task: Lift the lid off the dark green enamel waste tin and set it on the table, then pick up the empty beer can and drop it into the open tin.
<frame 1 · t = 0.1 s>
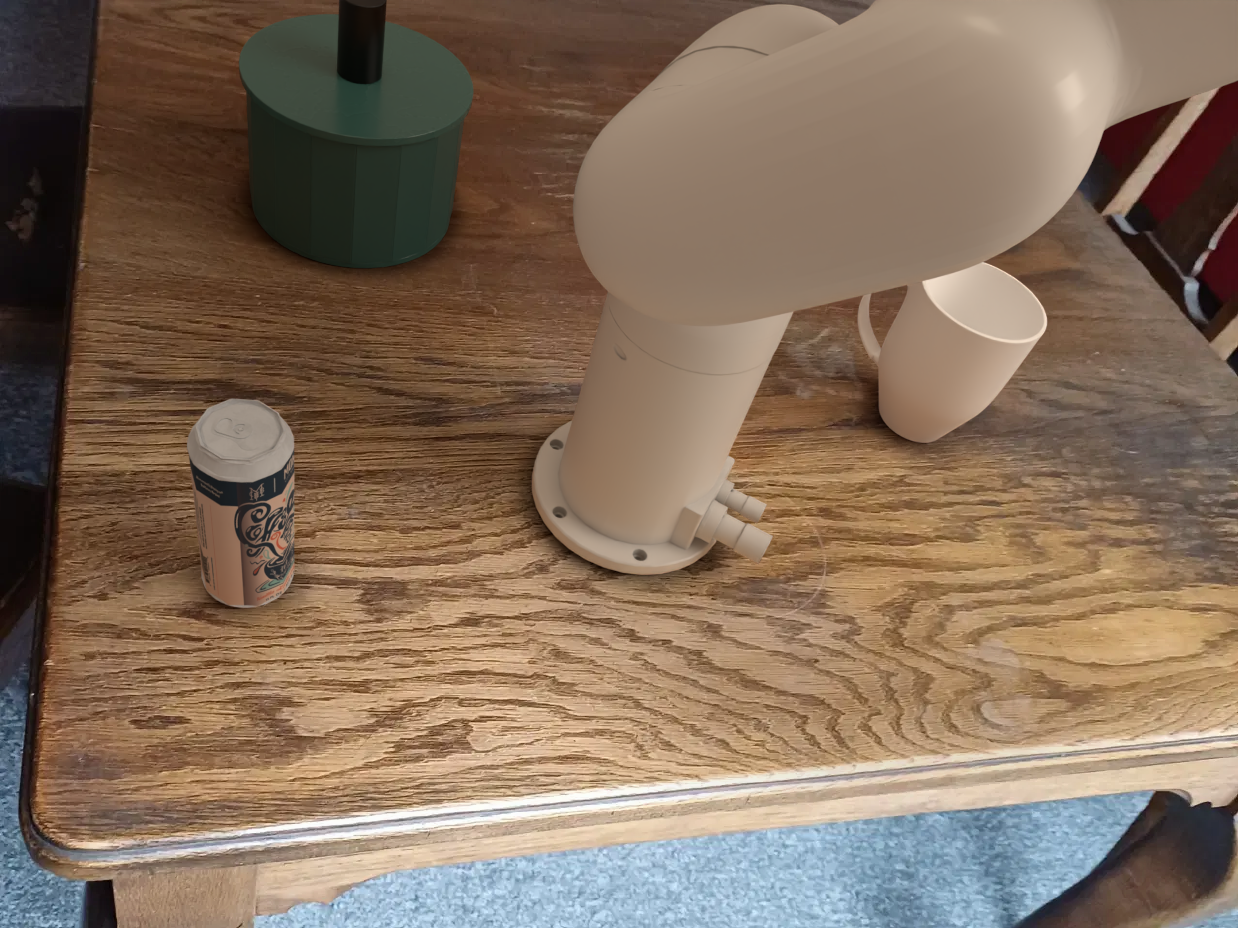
tin: (353, 206, 82), on the table
beer can: (248, 578, 59), on the table
tin lid: (359, 80, 74), point 10 cm above the table, touching tin
mug: (893, 409, 80), on the table
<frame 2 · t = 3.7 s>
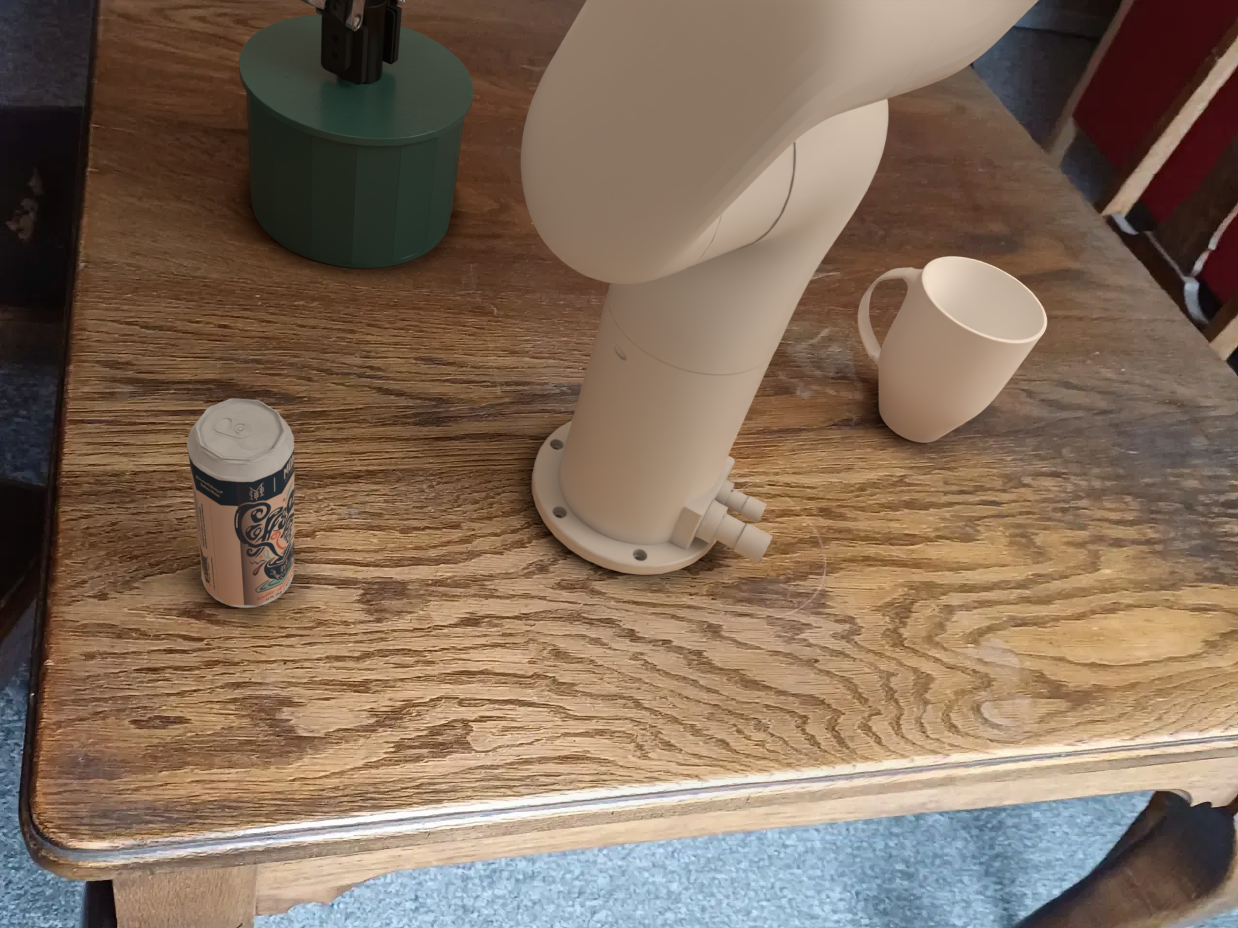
hand: (359, 63, 73), 12 cm above the table, tool pointing down, fingers closed on tin lid, 3 cm apart
tin lid: (359, 80, 74), point 11 cm above the table, touching gripper, tin
everything else where it was.
when the fingers open (2 cm above the table, at t = 12.2 s): tin lid stays where it is, point 1 cm above the table.
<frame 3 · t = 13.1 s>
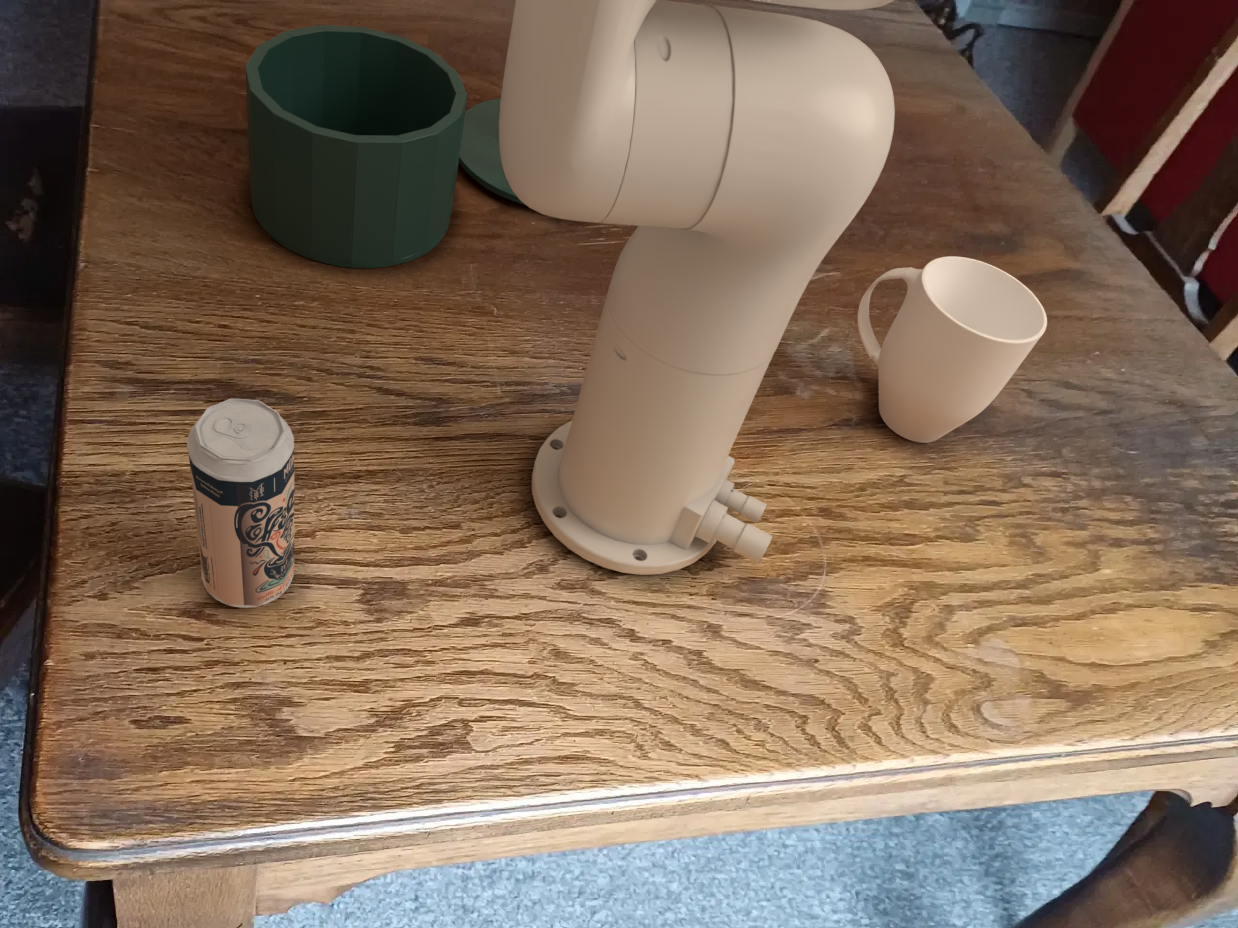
hand: (551, 128, 89), 3 cm above the table, tool pointing down, fingers open, 9 cm apart
tin lid: (544, 154, 91), point 1 cm above the table
everything else where it was.
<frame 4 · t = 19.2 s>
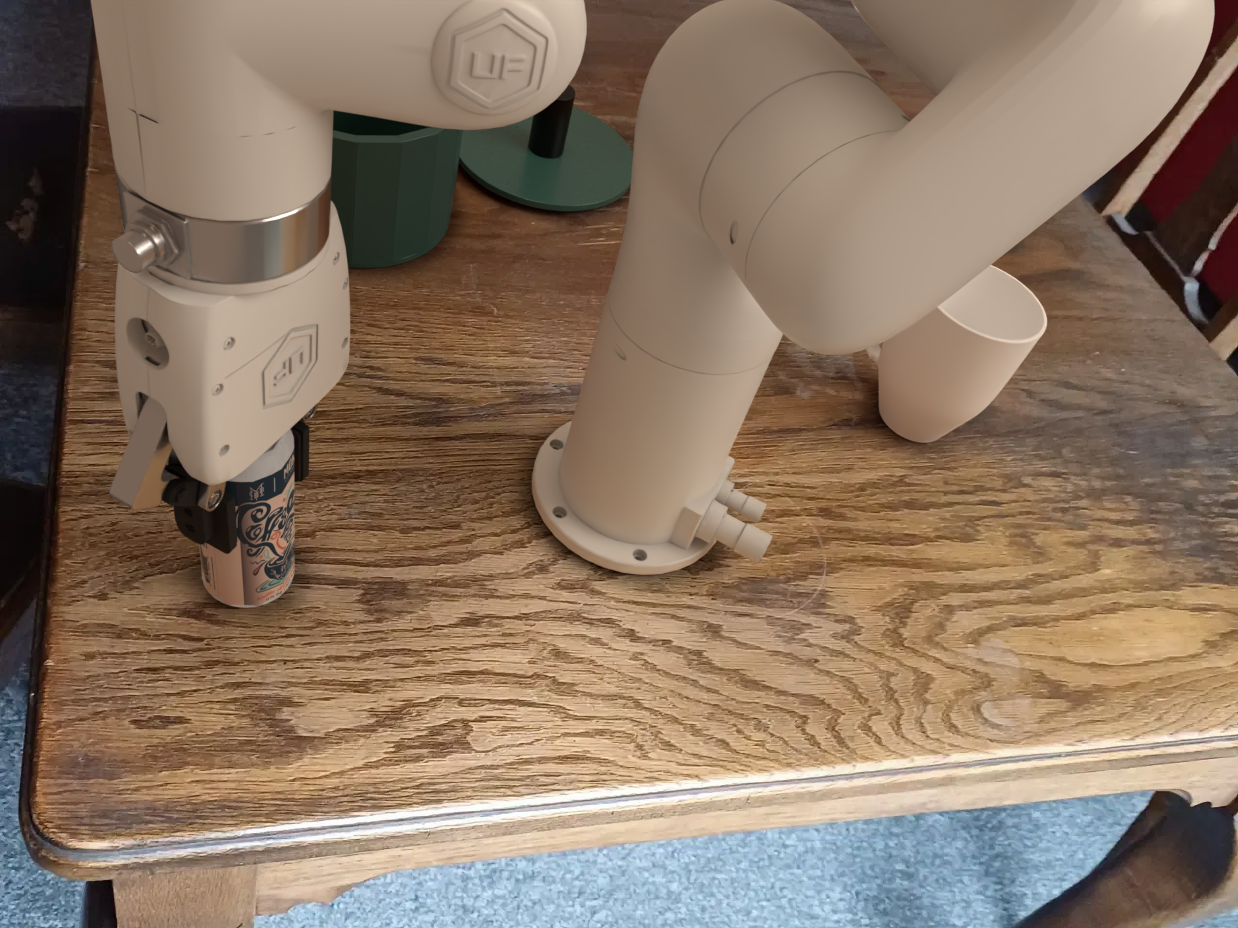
hand: (244, 498, 54), 7 cm above the table, tool pointing down, fingers closed on beer can, 4 cm apart
beer can: (249, 578, 59), on the table, touching gripper
everything else where it was.
when the fingers open (7 cm above the table, at t = 28.2 s): beer can stays where it is, resting on tin.
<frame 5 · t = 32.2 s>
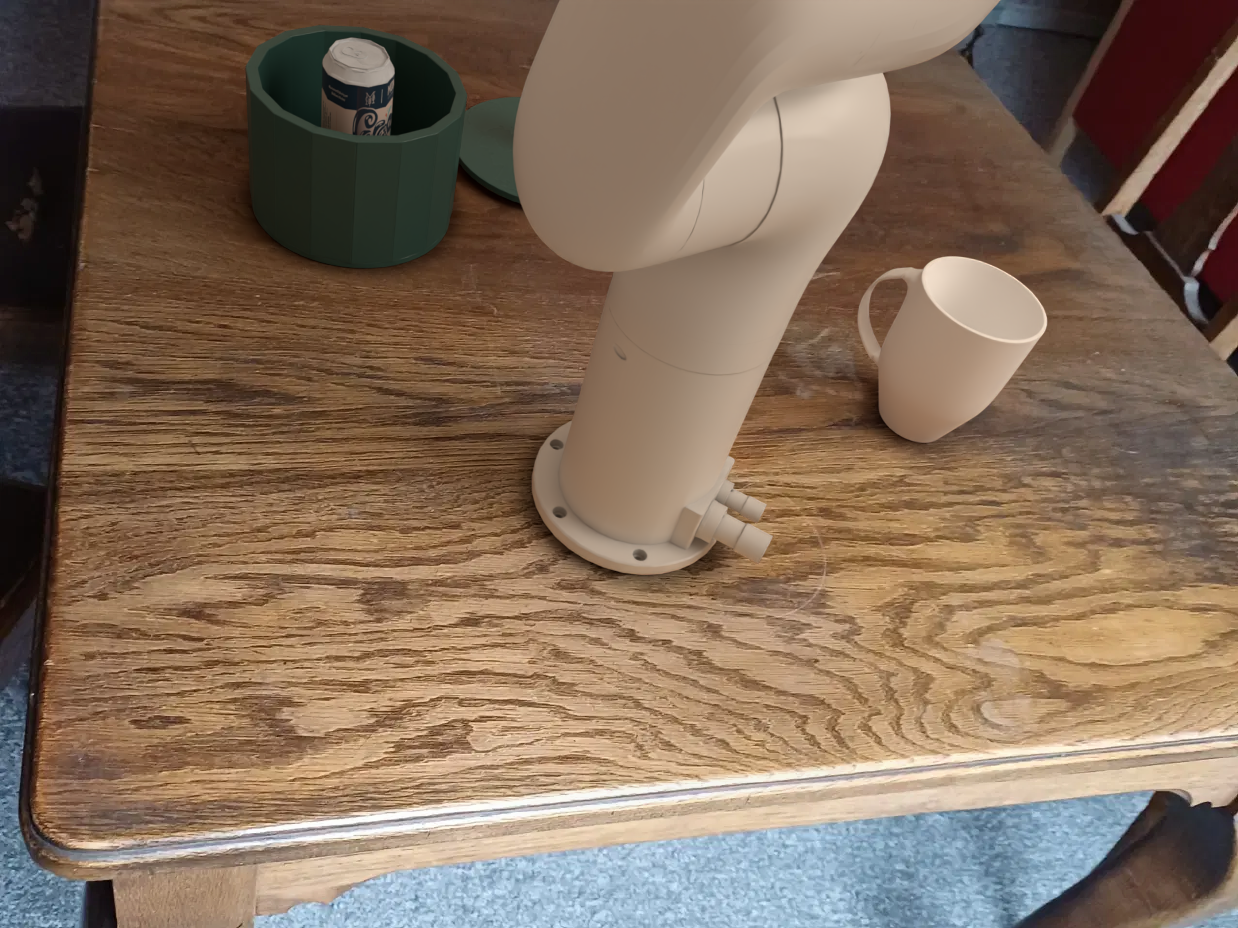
beer can: (352, 202, 82), resting on tin
everything else where it was.
at the end: beer can inside the target area in the tin (0.1 cm from its centre), point 0.3 cm above the tin's base; tin lid point 0.6 cm above the table; tin lid inside the target area (0.1 cm from its centre), point 0.6 cm above the table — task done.
